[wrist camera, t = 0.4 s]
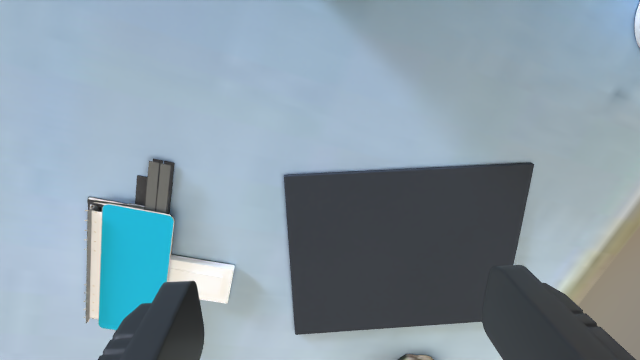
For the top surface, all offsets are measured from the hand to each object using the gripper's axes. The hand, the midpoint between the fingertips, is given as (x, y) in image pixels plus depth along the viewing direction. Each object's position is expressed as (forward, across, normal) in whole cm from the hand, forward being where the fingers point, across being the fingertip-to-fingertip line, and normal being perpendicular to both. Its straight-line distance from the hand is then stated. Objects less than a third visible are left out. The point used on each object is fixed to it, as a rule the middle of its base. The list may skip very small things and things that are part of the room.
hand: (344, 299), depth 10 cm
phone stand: (+19, +13, +11) cm, 25 cm away
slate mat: (+18, -8, +11) cm, 23 cm away
